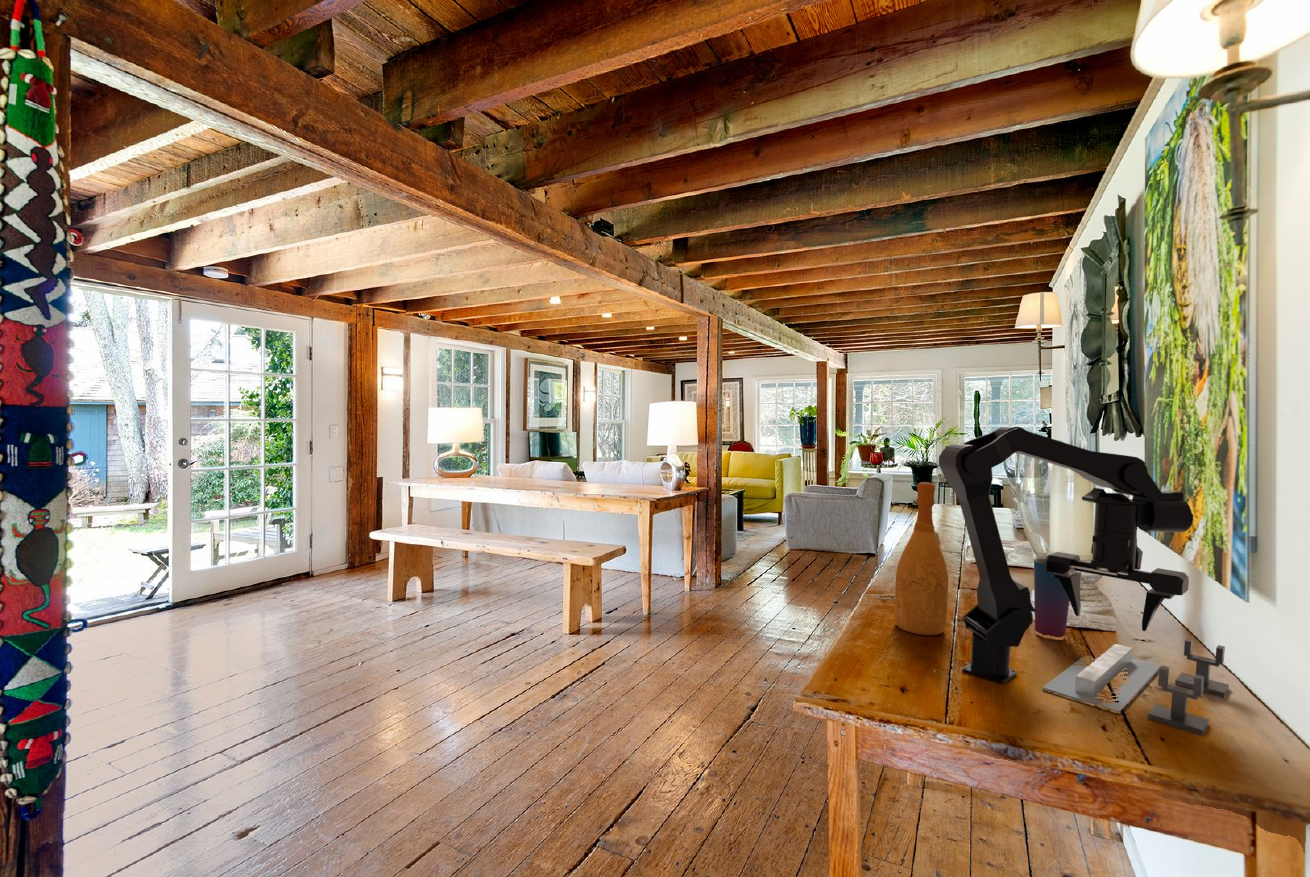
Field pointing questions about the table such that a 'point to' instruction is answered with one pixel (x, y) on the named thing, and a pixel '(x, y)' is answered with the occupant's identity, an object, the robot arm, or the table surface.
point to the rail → (1103, 670)
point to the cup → (1049, 602)
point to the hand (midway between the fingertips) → (1109, 622)
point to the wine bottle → (922, 574)
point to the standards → (1189, 691)
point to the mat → (1066, 687)
